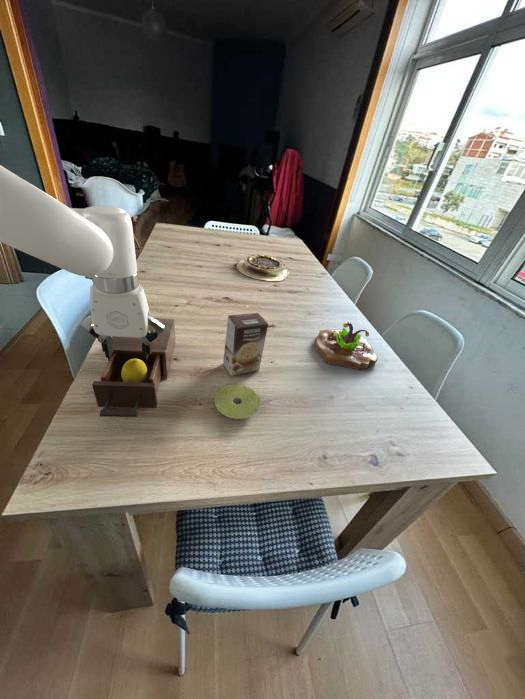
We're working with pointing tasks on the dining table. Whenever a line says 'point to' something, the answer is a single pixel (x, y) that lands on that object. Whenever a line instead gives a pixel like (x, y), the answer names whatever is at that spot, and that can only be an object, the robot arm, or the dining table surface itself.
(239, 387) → the green disc
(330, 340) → the plant
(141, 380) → the lemon
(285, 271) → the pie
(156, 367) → the drawer
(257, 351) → the coffee box
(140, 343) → the cabinet
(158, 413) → the dining table surface
